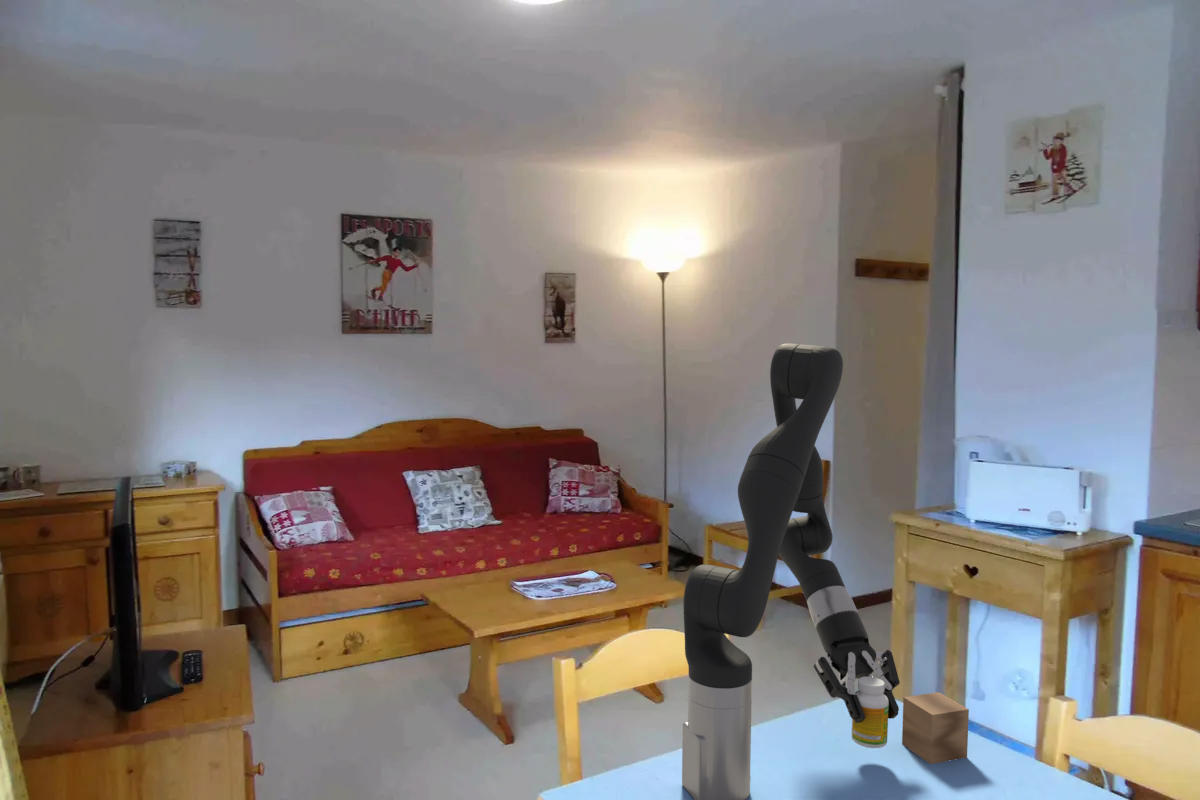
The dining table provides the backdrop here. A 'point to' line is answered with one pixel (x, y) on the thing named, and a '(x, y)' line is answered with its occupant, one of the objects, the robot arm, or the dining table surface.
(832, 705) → the dining table surface
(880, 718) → the supplement bottle
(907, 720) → the walnut block
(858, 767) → the dining table surface
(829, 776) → the dining table surface
